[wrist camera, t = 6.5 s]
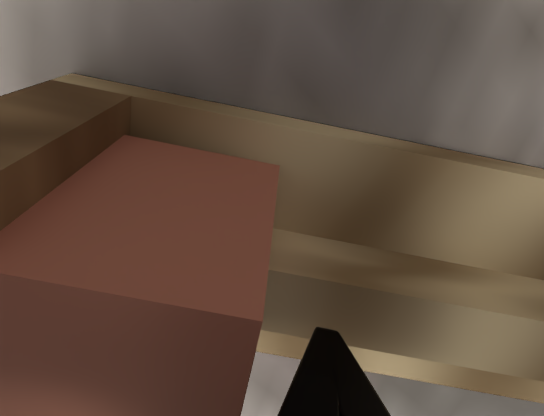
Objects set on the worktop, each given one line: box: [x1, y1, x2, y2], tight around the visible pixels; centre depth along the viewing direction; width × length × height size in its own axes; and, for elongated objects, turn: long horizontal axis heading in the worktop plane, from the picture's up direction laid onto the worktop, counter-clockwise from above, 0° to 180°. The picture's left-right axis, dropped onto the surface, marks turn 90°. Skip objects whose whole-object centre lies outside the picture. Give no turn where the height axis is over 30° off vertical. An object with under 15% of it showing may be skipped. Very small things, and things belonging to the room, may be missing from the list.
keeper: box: [0, 135, 280, 416], centre depth 9 cm, size 4×6×6 cm, turn 169°
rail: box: [0, 73, 544, 403], centre depth 10 cm, size 18×8×7 cm, turn 79°
